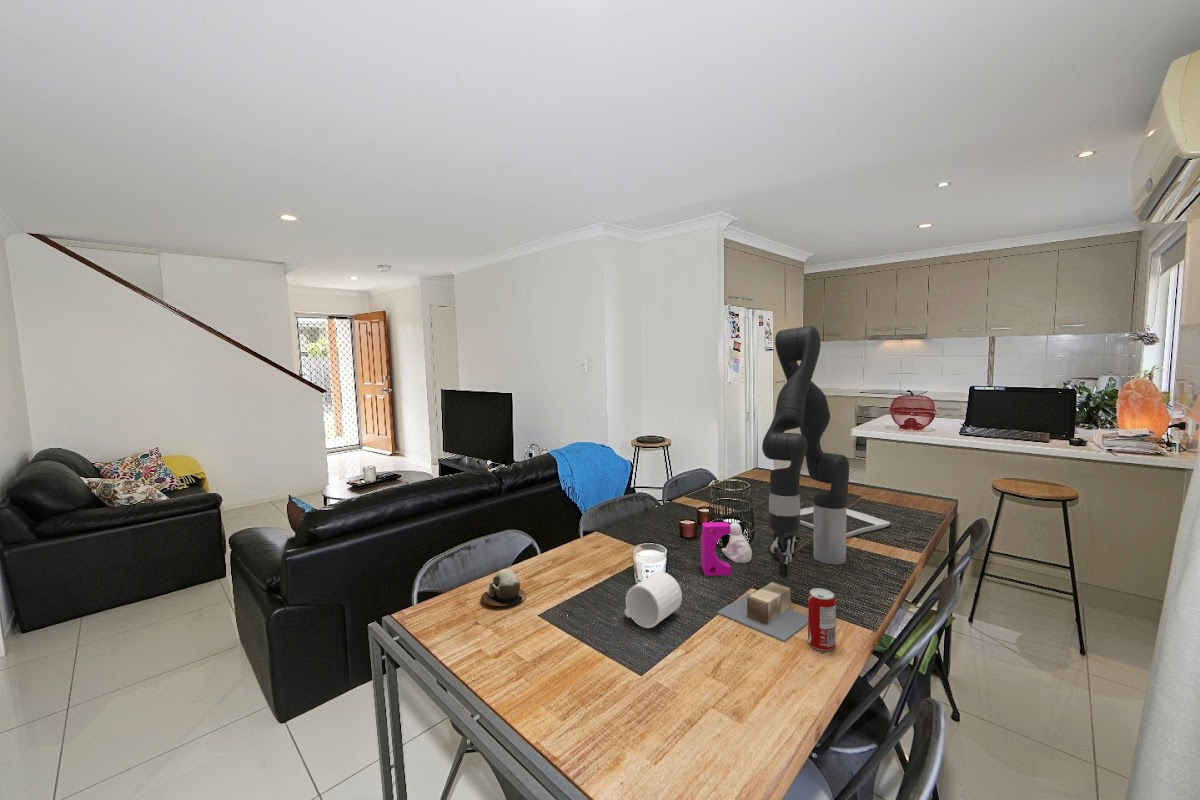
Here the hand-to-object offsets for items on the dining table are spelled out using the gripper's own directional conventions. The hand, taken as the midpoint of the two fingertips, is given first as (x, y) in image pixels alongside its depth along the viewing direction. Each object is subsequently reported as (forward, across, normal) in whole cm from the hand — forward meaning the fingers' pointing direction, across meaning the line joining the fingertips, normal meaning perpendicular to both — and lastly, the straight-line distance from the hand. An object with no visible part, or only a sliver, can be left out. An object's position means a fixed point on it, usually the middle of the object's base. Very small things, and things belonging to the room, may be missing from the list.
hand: (784, 576), depth 128 cm
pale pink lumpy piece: (+7, -15, -24) cm, 29 cm away
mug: (+3, +24, -20) cm, 32 cm away
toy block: (0, 0, -26) cm, 26 cm away
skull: (+9, +54, -53) cm, 77 cm away
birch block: (+4, +2, 0) cm, 4 cm away
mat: (+7, +10, 0) cm, 12 cm away
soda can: (+7, +12, +15) cm, 21 cm away
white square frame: (+8, -68, -17) cm, 71 cm away
